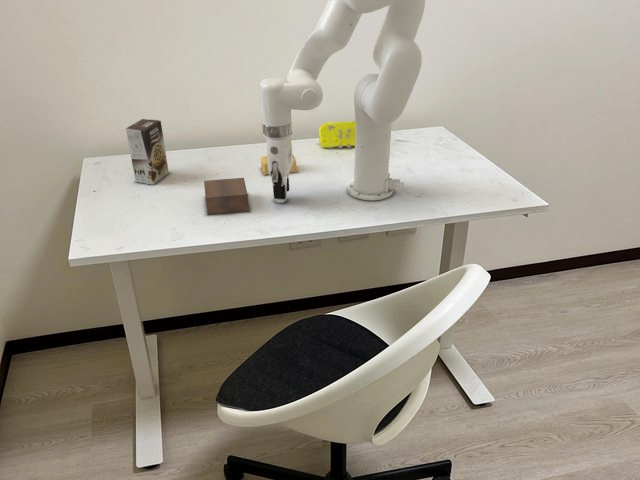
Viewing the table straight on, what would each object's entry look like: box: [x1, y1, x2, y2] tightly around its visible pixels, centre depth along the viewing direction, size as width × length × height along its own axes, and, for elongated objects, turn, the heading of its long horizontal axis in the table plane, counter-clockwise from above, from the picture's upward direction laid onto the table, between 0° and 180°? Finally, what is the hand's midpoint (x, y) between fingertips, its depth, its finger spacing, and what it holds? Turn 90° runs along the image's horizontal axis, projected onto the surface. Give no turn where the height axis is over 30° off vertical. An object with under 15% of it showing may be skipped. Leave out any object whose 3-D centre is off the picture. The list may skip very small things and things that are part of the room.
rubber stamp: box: [260, 155, 298, 176], centre depth 185 cm, size 10×6×12 cm, turn 103°
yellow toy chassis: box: [318, 121, 356, 150], centre depth 202 cm, size 16×6×8 cm, turn 97°
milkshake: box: [270, 172, 288, 204], centre depth 169 cm, size 4×5×10 cm
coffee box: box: [125, 118, 170, 185], centre depth 180 cm, size 9×6×16 cm
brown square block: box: [203, 177, 250, 216], centre depth 169 cm, size 11×11×5 cm
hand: (281, 194), depth 171 cm, fingers closed on milkshake, 4 cm apart
